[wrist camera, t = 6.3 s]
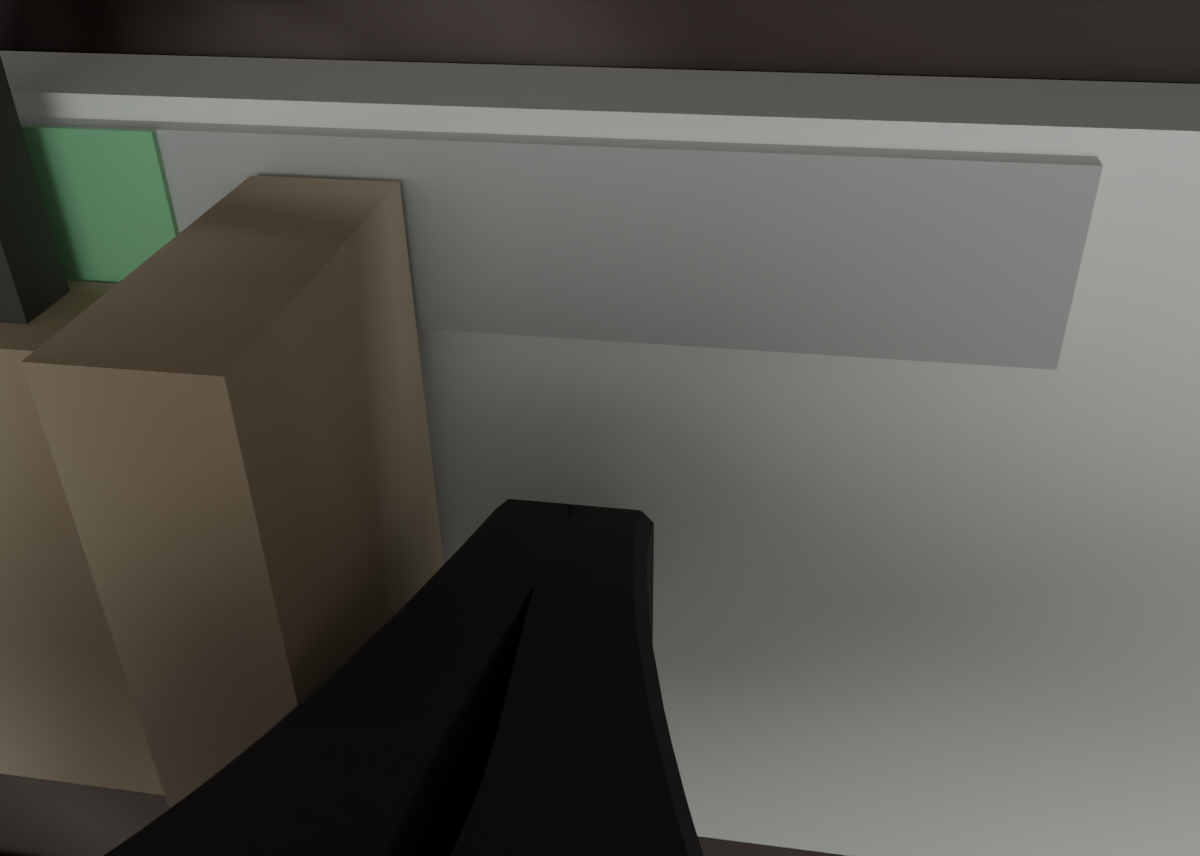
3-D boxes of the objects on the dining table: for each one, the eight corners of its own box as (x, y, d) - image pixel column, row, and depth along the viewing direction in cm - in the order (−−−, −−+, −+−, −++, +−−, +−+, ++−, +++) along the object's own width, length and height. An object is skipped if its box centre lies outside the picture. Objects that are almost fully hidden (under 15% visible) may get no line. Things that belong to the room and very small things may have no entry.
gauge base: (-276, 637, 15) (-486, 814, 13) (-622, 34, 11) (-1037, 126, 9) (1302, 823, 12) (1421, 1101, 10) (1651, 96, 8) (2010, 265, 6)
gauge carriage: (35, 744, 13) (-150, 988, 11) (-312, -111, 8) (-803, -32, 6) (470, 800, 12) (381, 1077, 10) (366, -107, 8) (137, -17, 5)
